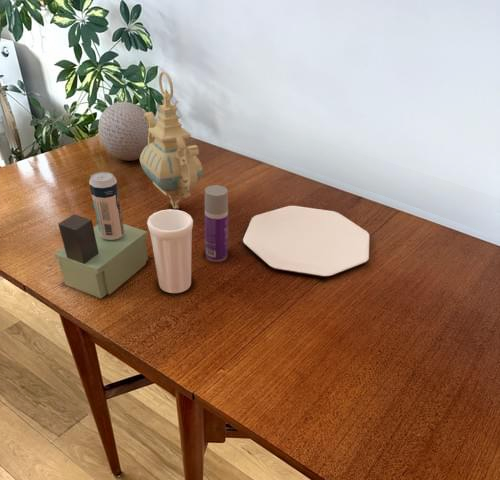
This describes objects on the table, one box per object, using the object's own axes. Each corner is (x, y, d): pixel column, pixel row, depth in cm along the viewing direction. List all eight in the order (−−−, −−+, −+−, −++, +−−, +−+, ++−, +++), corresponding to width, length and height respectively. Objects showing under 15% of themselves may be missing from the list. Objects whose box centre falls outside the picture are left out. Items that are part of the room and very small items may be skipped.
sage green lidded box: (62, 283, 90) (53, 253, 85) (112, 247, 100) (106, 218, 95) (103, 300, 87) (97, 269, 82) (150, 260, 97) (147, 231, 92)
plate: (258, 205, 117) (259, 200, 116) (368, 221, 113) (370, 216, 112) (233, 267, 97) (233, 261, 96) (366, 288, 93) (368, 282, 92)
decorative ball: (167, 159, 134) (162, 104, 124) (123, 174, 126) (115, 116, 116) (135, 144, 141) (129, 91, 131) (92, 157, 133) (82, 101, 123)
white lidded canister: (130, 235, 91) (121, 176, 83) (109, 244, 88) (98, 184, 80) (115, 226, 93) (105, 168, 85) (95, 235, 90) (82, 175, 82)
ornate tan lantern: (219, 224, 109) (219, 85, 88) (175, 237, 104) (164, 92, 84) (174, 183, 123) (165, 55, 103) (133, 193, 118) (115, 60, 98)
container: (229, 260, 98) (231, 194, 88) (208, 263, 97) (207, 196, 87) (224, 248, 102) (225, 183, 91) (203, 251, 100) (201, 185, 90)
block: (66, 257, 84) (57, 223, 80) (82, 247, 87) (74, 213, 82) (84, 264, 83) (76, 229, 78) (98, 253, 86) (91, 219, 81)
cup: (197, 296, 89) (194, 231, 79) (154, 299, 88) (146, 233, 78) (194, 271, 95) (191, 208, 85) (154, 274, 94) (146, 209, 84)
